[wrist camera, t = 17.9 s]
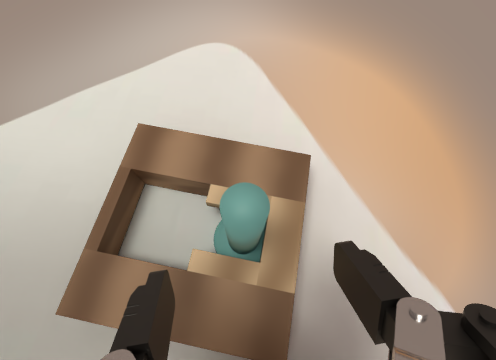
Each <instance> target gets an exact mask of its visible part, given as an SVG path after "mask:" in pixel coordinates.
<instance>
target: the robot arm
mask: <svg viewBox="0 0 496 360" xmlns="http://www.w3.org/2000/svg"><path fill="white" fill-rule="evenodd" d="M333 269H334V275H335V278H336V280H337V282H338V284H339V285H340V287H341V289H342V290H343V292H344V294H345V295H346V297H347V299H348V300H349V302H350V304H351V305H352V307H353V309H354V310H355V312H356V313H357V315H358V317H359V318H360V320H361V322H362V323H363V325H364V327H365V328H366V330H367V332H368V333H369V335H370V337H371V338H372V340H373V342H374V343H375V345H376V344H381V343H386V345H387V346H388V348H389V353H388V360H496V309H495V308H492V307H490V306H487V305H483V304H469V305H467V306H466V307H465V308H464V311H463V314H462V313H452V312H443V311H437V310H436V309H435V308H434V307H433V306H432V305H430V304H429V303H427V302H426V301H423V300H421V299H418V298H414V297H412V296H411V295H410V294H409V293H408V292H407V291H406V290H405V289H404V287H403V286H402V285H401V284H400V283H399V282H398V281H397V280H396V279H395V277H394V276H393V275H392V274H391V273H390V272H388V270H387V269H386V268H385V266H384V265H382V263H381V262H380V261H379V260H378V259H377V258H376V256H374V255H373V254H371V253H369V252H368V251H366V250H359V248H358V247H357V246H356V245H355V244H354V243H353V242H352V241H345V242H339V243H335V246H334V266H333ZM126 307H127V308H126V309H125V312H124V314H123V317H122V320H121V323H120V325H119V328H118V331H117V333H116V336H115V339H114V342H113V344H112V347H111V350H110V352H109V354H107V355H106V356H105V357H103V358H102V359H101V360H167V356H168V350H169V344H170V337H171V331H172V324H173V318H174V312H175V295H174V291H173V287H172V284H171V280H170V276H169V272H168V270H161V271H154V272H150V273H149V275H148V279H147V282H146V285H141V286H138V287H137V288H136V289H135V291H134V292H133V293H132V294H131V296H130V298H129V301H128V303H127V306H126Z"/></svg>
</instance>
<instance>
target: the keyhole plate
mask: <svg viewBox="0 0 496 360" xmlns="http://www.w3.org/2000/svg"><path fill="white" fill-rule="evenodd" d="M310 159H311V155H307V154H302V153H296V152H291V151H286V150H280V149H275V148H269V147H264V146H259V145H253V144H248V143H242V142H237V141H232V140H226V139H221V138H215V137H210V136H205V135H199V134H194V133H188V132H183V131H178V130H172V129H167V128H161V127H156V126H151V125H145V124H140V123H138V125H137V128H136V130H135V132H134V135H133V137H132V139H131V142H130V144H129V146H128V148H127V151H126V153H125V155H124V158H123V160H122V162H121V165H120V167H119V169H118V171H117V174H116V176H115V178H114V181H113V183H112V185H111V188H110V190H109V192H108V194H107V197H106V199H105V201H104V204H103V206H102V208H101V211H100V213H99V215H98V217H97V220H96V222H95V224H94V227H93V229H92V231H91V234H90V236H89V238H88V240H87V243H86V245H85V247H84V250H83V252H82V254H81V256H80V259H79V261H78V263H77V266H76V268H75V270H74V273H73V275H72V277H71V279H70V282H69V284H68V286H67V289H66V291H65V293H64V296H63V298H62V300H61V302H60V305H59V307H58V309H57V312H56V315H61V316H65V317H69V318H74V319H78V320H82V321H87V322H91V323H95V324H100V325H104V326H108V327H113V328H117V329H118V328H119V325H120V323H121V320H122V317H123V314H124V312H125V309H126V308H127V307H126V306H127V303H128V301H129V298H130V296H131V294H132V293H133V292H134V291H135V289H136V288H137V287H138V286H141V285H146V282H147V279H148V275H149V273H150V272H154V271H161V270H168V272H169V276H170V280H171V284H172V287H173V291H174V295H175V312H174V318H173V324H172V331H171V337H170V341H173V342H178V343H182V344H187V345H191V346H195V347H200V348H204V349H208V350H213V351H217V352H221V353H226V354H230V355H234V356H239V357H243V358H247V359H252V360H287V354H288V346H289V337H290V329H291V320H292V312H293V303H294V295H295V286H296V278H297V269H298V261H299V252H300V244H301V235H302V227H303V219H304V210H305V202H306V193H307V185H308V176H309V168H310ZM243 182H246V183H252V184H255V185H257V186H259V187H260V188H261V189H262V190H263V191H264V192H265V193H266V195H267V196H268V199H269V202H270V211H269V215H268V218H267V223H266V229H265V235H264V241H263V246H262V252H261V258H260V263H259V262H254V261H249V260H244V259H240V258H235V257H230V256H225V255H220V254H216V253H211V252H206V251H201V250H197V249H193V250H192V254H191V258H190V261H189V265H188V269H187V270H182V269H177V268H173V267H168V266H163V265H159V264H154V263H149V262H145V261H140V260H135V259H131V258H126V257H121V256H117V255H118V253H119V250H120V248H121V245H122V242H123V240H124V237H125V235H126V232H127V229H128V227H129V224H130V221H131V219H132V216H133V214H134V211H135V208H136V206H137V203H138V200H139V198H140V195H141V193H142V190H143V187H144V185H145V184H148V185H153V186H158V187H163V188H168V189H173V190H178V191H184V192H189V193H194V194H199V195H204V196H207V200H206V204H207V206H212V207H217V208H220V200H221V197H222V195H223V194H224V192H225V191H226V190H227V189H228V188H229V187H231V186H233V185H235V184H237V183H243Z"/></svg>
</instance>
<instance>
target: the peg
mask: <svg viewBox="0 0 496 360" xmlns="http://www.w3.org/2000/svg"><path fill="white" fill-rule="evenodd" d="M269 211H270V202H269V199H268V196H267V195H266V193H265V192H264V191H263V190H262V189H261V188H260V187H259V186H257V185H255V184H252V183H246V182H243V183H237V184H235V185H233V186H231V187H229V188H228V189H227V190H226V191H225V192H224V194H223V195H222V197H221V200H220V213H221V217H222V220H221V221H220V223H219V224H218V226H217V228H216V230H215V234H214V246H215V250H216V253H217V254H220V255H225V256H230V257H235V258H240V259H244V260H249V261H254V262H259V263H260V258H261V252H262V246H263V241H264V235H265V229H266V223H267V222H266V220H267V218H268V215H269Z"/></svg>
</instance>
